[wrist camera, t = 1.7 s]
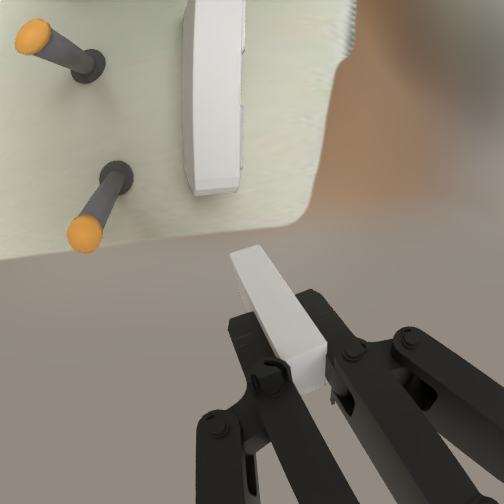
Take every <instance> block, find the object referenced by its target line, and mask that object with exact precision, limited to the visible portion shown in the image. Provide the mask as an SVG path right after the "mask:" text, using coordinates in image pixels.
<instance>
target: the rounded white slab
mask: <svg viewBox="0 0 504 504" xmlns="http://www.w3.org/2000/svg"><path fill="white" fill-rule="evenodd" d="M245 5H246V0H188V3H187V6H186V10H185V13H184V20H183V37H182V81H181V98H182V145H183V164H184V171H185V175H186V177H187V180H188V182H189V185H190V187H191V190H192V193H193V195H194V196H200V195H210V194H221V193H232V192H237V190H238V188H239V182H240V170H241V169H242V166H243V107H242V105H241V57H242V54H243V52H244V45H245Z"/></svg>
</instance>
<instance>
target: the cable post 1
mask: <svg viewBox="0 0 504 504" xmlns="http://www.w3.org/2000/svg"><path fill="white" fill-rule="evenodd" d="M15 48H16V50H17V51H18V52H19V53H22V54H25V55H34V56H37V57H40V58H42V59H45V60H48V61H51V62H53V63H56V64H58V65H61V66H64V67H66V68H69V69H71V75H72V77H73V78H74V79H75V80H76V81H78V82H81V83H89V82H92V81H94V80H96V79H97V78H98V77H99V76H100V75H101V74H102V72H103V70H104V68H105V58H104V56H103V55H102V53H100V52H99V51H97V50H94V49H89V50H85V51H83V50H82V49H80V48H79V47H78V46H76V45H75V44H73V43H72V42H71V41H69V40H68V39H66V38H65V37H63V36H62V35H61V34H59V33H58V32H56V31H55V30H53V29H52V28H51V27H50V25H49V24H48V23H47V22H45V21H44V20H42V19H33V20H31V21H29V22H28V23H26V24H25V25H24V26H23V27H22V28H21V29H20V31H19V32H18V34H17V36H16V39H15Z"/></svg>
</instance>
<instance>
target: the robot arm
mask: <svg viewBox="0 0 504 504" xmlns="http://www.w3.org/2000/svg"><path fill="white" fill-rule="evenodd" d="M229 256H230V260H231V264H232V268H233V271H234V275H235V279H236V282H237V286H238V290H239V293H240V297H241V299H242V301H243V303H244V306H245V308H246V310H247V312H248V313H245V314H243V315H240V316H237V317H234V318H231V319H230V320H229V326H228V331H229V334H230V337H231V340H232V342H233V345H234V348H235V351H236V353H237V356H238V359H239V362H240V364H241V367H242V370H243V372H244V375H245V377H246V381H247V389H246V392H245V394H244V396H243V397H242V399H240V400H239V401H238V402H237V403H236V404H234V405H233V406H231V407H230V408H229V409H227V410H213V411H210V412H208V413H207V414H205V415H203V417H202V418H201V419H200V420H199V422H198V425H197V430H196V431H197V432H196V504H260V495H259V485H258V473H257V464H256V463H257V462H256V452H257V451H259V450H260V449H261V448H263V447H264V446H265V445H267V444H268V443H269V442H272V445H273V447H274V449H275V452H276V454H277V456H278V458H279V461H280V463H281V465H282V467H283V470H284V472H285V474H286V476H287V479H288V481H289V483H290V485H291V487H292V489H293V492H294V494H295V496H296V498H297V500H298V502H299V504H360V503H359V502H358V500H357V498H356V496H355V495H354V493H353V491H352V489H351V488H350V486H349V484H348V482H347V481H346V479H345V477H344V475H343V473H342V471H341V470H340V468H339V466H338V464H337V463H336V461H335V459H334V457H333V455H332V453H331V452H330V450H329V448H328V446H327V444H326V442H325V441H324V439H323V437H322V435H321V433H320V431H319V430H318V428H317V426H316V424H315V422H314V420H313V419H312V417H311V415H310V413H309V411H308V409H307V407H306V405H305V403H304V401H303V400H302V398H301V396H302V395H304V394H306V393H309V392H311V391H313V390H315V389H318V388H320V387H322V386H324V385H325V384H326V379H327V381H328V382H329V384H330V385H331V387H332V389H331V399H330V400H331V403H332V405H333V404H335V401H336V403H337V404H338V406H339V408H340V409H341V411H342V413H343V414H344V416H345V418H346V419H347V421H348V423H349V424H350V426H351V428H352V429H353V431H354V433H355V434H356V436H357V438H358V439H359V441H360V443H361V444H362V446H363V448H364V449H365V451H366V453H367V454H368V456H369V458H370V459H371V461H372V463H373V464H374V466H375V467H376V469H377V471H378V472H379V474H380V476H381V477H382V479H383V481H384V482H385V484H386V486H387V487H388V489H389V490H390V492H391V494H392V495H393V497H394V499H395V500H396V502H397V503H398V504H498V503H497V501H495V500H494V499H492V498H489V497H486V496H483V495H482V494H480V493H479V491H478V490H477V488H476V487H475V485H474V484H473V482H472V481H471V480H470V478H469V476H468V475H467V474H466V472H465V471H464V469H463V468H462V466H461V465H460V463H459V462H458V461H457V459H456V458H455V456H454V455H453V454H452V452H451V451H450V449H449V448H448V446H447V445H446V444H445V442H444V441H443V440H442V438H441V437H440V435H439V434H441V435H442V436H443V437H444V438H446V439H447V440H448V441H449V442H451V443H452V444H453V445H454V446H456V447H457V448H458V449H460V450H461V451H462V452H463V453H465V454H466V455H467V456H469V457H470V458H471V459H472V460H474V461H475V462H476V463H478V464H479V465H480V466H482V467H483V468H484V469H485V470H487V471H488V472H489V473H491V474H492V475H493V476H494V477H496V478H497V479H498V480H500V481H501V482H503V483H504V387H502V386H501V385H499V384H498V383H497V382H495V381H494V380H492V379H491V378H490V377H488V376H487V375H486V374H484V373H483V372H481V371H480V370H478V369H477V368H476V367H474V366H473V365H471V364H470V363H468V362H467V361H466V360H464V359H463V358H461V357H460V356H459V355H457V354H456V353H454V352H453V351H451V350H450V349H448V348H447V347H445V346H444V345H443V344H441V343H440V342H438V341H437V340H435V339H434V338H432V337H431V336H429V335H428V334H426V333H425V332H423V331H422V330H420V329H418V328H415V327H404V328H401V329H400V330H398V331H397V332H396V334H395V335H394V337H393V339H389V340H384V341H379V342H366V341H365V340H363V339H360V338H357V337H355V336H354V335H353V334H352V332H351V331H350V330H349V329H348V327H347V326H346V325H345V324H344V322H343V321H342V320H341V318H340V317H339V316H338V315H337V313H336V312H335V311H333V308H332V307H331V306H330V305H329V304H328V302H327V301H326V300H325V299H324V297H323V296H322V295H321V294H320V293H318V292H316V291H314V290H312V289H309V290H306V291H304V292H301V293H298V294H296V295H294V294H293V292H292V291H291V289H290V288H289V287H288V285H287V284H286V282H285V281H284V279H283V278H282V276H281V275H280V274H279V272H278V271H277V269H276V268H275V266H274V265H273V264H272V262H271V261H270V259H269V258H268V256H267V255H266V254H265V252H264V251H263V249H262V248H261V247H260V245H259V244H257V245H254V246H251V247H248V248H245V249H242V250H239V251H236V252H233V253H230V254H229ZM437 432H438V433H439V434H438V433H437Z"/></svg>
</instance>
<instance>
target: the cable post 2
mask: <svg viewBox="0 0 504 504" xmlns="http://www.w3.org/2000/svg"><path fill="white" fill-rule="evenodd" d="M99 181H100V186H99V187H98V189H97V190H96V191H95V193H94V194H93V196H92V197H91V198H90V200H89V201H88V203H87V204H86V205H85V207H84V208H83V210H82V211H81V213H80V214H79V216H78V217H76V218H75V219H74V220H73V222H72V223H71V225H70V226H69V228H68V231H67V239H68V242H69V244H70V245H71V247H72V248H73V249H74V250H76V251H78V252H80V253H91V252H93V251H95V250H96V249H97V248H98V246H99V244H100V241H101V239H102V235H103V229H104V226H105V224H106V221H107V219H108V217H109V214H110V212H111V210H112V207H113V205H114V203H115V201H116V198H117V196H119V195H122V194H124V193H125V192H127V191H128V190H129V188H130V187H131V185H132V182H133V172H132V170H131V168H130V166H129V165H128V164H126V163H125V162H122V161H113V162H110V163H108V164H107V165H106V166H105V167H104V168H103V169H102V171H101V173H100V178H99Z"/></svg>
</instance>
